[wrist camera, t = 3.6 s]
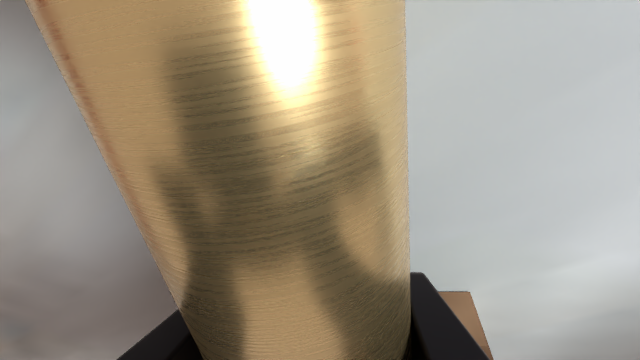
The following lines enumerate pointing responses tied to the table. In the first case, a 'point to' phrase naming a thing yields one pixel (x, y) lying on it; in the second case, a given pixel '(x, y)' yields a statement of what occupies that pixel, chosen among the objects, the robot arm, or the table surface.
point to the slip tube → (256, 162)
